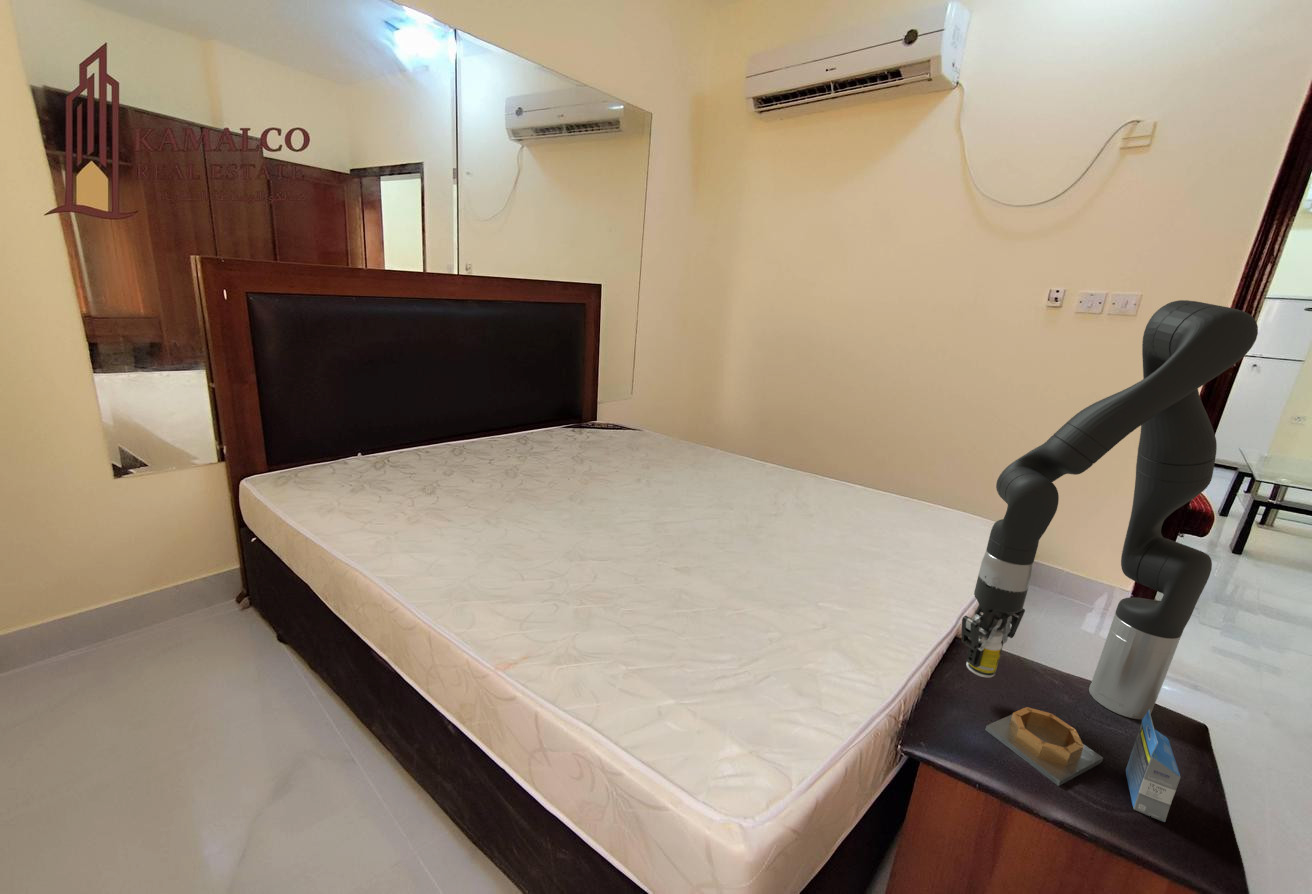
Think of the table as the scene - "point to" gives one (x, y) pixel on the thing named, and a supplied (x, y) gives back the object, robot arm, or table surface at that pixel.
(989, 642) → the supplement bottle
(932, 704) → the table surface
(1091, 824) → the table surface
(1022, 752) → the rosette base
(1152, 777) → the label tape box
